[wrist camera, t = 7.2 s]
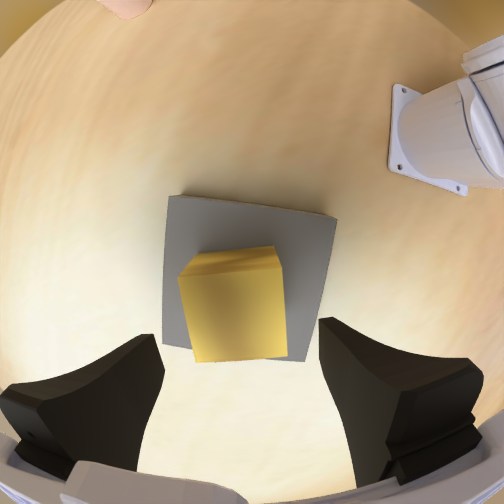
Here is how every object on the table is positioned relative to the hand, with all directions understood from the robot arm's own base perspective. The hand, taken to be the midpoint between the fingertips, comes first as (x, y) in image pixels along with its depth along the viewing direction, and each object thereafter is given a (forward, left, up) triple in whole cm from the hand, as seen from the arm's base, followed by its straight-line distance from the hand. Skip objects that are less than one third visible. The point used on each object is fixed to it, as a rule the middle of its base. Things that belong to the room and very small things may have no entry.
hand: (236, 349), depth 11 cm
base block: (0, 0, -11) cm, 11 cm away
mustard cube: (0, 0, -7) cm, 7 cm away
